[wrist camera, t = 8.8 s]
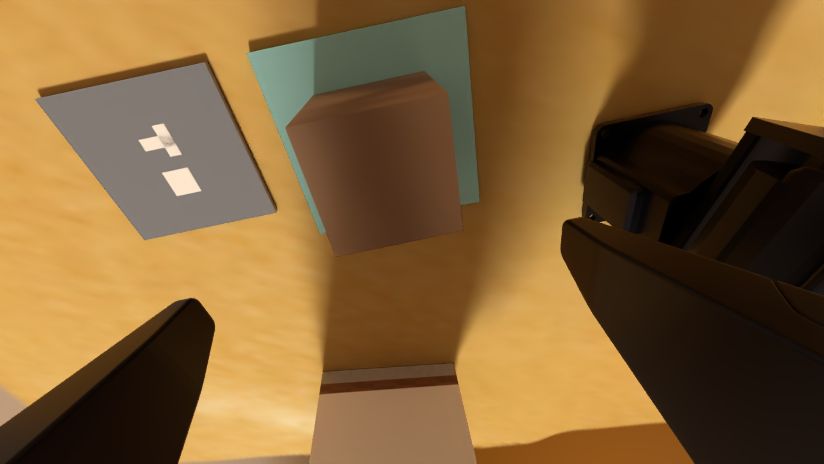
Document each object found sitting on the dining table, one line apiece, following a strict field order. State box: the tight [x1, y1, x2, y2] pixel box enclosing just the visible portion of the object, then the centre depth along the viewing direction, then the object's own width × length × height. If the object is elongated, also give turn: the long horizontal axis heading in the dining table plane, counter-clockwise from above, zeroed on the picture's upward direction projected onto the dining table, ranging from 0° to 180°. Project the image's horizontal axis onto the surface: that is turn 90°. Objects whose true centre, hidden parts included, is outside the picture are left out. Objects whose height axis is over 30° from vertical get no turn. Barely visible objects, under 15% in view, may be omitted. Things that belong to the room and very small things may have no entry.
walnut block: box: [285, 71, 464, 257], centre depth 15 cm, size 6×6×6 cm
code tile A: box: [35, 62, 277, 240], centre depth 17 cm, size 8×8×1 cm
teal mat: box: [247, 6, 480, 235], centre depth 17 cm, size 10×10×1 cm
